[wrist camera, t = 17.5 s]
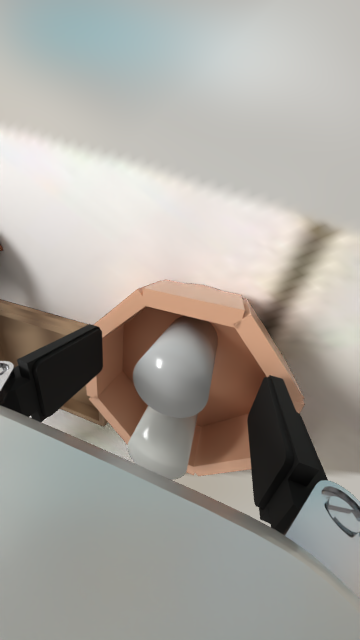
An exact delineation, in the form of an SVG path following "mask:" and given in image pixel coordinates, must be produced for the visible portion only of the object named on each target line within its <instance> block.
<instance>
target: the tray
mask: <svg viewBox="0 0 360 640" xmlns="http://www.w3.org/2000/svg"><path fill="white" fill-rule="evenodd" d="M86 325H88V324H85V323H81V322H78V321H74V320H71V319H67V318H64V317H60V316H57V315H53V314H50V313H46V312H43V311H39V310H36V309H32V308H29V307H25V306H22V305H18V304H15V303H11V302H8V301H4V300H1V299H0V361H8V362H11V363H13V365H14V368H15V367H16V366H18V362H17V359H19V358H21V357H23V356H25V355H27V354H29V353H31V352H33V351H35V350H37V349H39V348H41V347H43V346H46V345H48V344H50V343H52V342H54V341H56V340H58V339H60V338H62V337H64V336H66V335H68V334H70V333H72V332H74V331H76V330H78V329H80V328H82V327H84V326H86ZM89 398H90V396H87V390H86V385H85V386H84V387H83V388H82V389H81V390H80V391H79V392H77V393H76V394H75V395H74V396H73V397H72V398H71V399H70V400H68V401H67V402H66V403H65V404H64V405H63V406H62V407H61V408H60V409H62V410H65V411H67V412H69V413H72V414H74V415H77V416H79V417H82V418H84V419H86V420H89V421H91V422H94V423H96V424H98V425H101V426H103V427H104V426H105V425H106V424H107V422H108V421H107V420H106V419H105V418H104V417H103V415H102V414H101V413H100V412H99V411H98V409H97V408H96V407H95V406H94V405H93V404H92V402H91V401H90V400H89Z"/></svg>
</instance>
